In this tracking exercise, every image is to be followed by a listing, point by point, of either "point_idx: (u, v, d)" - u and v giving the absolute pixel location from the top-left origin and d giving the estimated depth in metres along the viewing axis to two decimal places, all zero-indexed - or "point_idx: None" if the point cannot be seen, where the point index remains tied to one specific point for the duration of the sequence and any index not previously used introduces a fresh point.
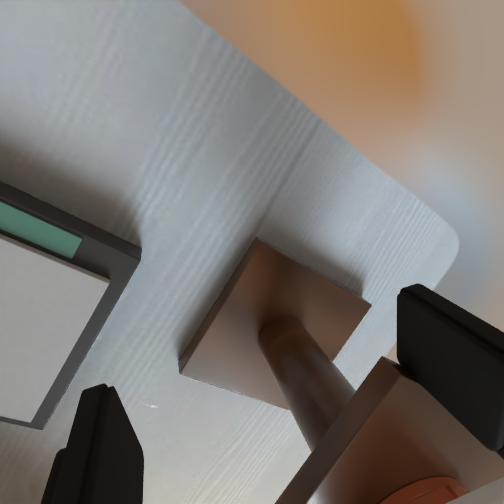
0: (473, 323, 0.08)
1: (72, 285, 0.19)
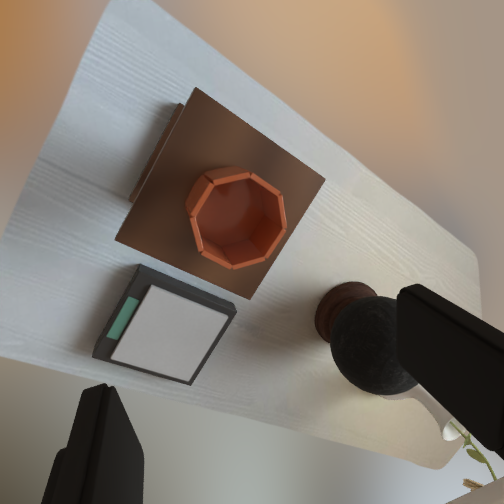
0: (472, 323, 0.08)
1: (152, 301, 0.40)
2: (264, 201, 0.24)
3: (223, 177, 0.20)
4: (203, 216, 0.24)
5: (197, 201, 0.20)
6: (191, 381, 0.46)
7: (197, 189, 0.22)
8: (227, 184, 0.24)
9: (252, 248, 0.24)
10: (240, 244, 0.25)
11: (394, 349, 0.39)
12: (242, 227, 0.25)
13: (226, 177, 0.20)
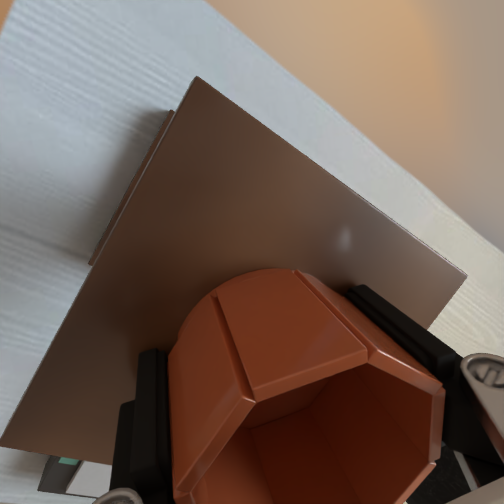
0: (402, 321, 0.09)
1: None
2: None
3: (285, 370, 0.06)
4: None
5: (199, 444, 0.06)
6: None
7: (199, 359, 0.08)
8: None
9: (328, 464, 0.10)
10: (294, 432, 0.11)
11: None
12: (297, 388, 0.12)
13: (296, 373, 0.06)
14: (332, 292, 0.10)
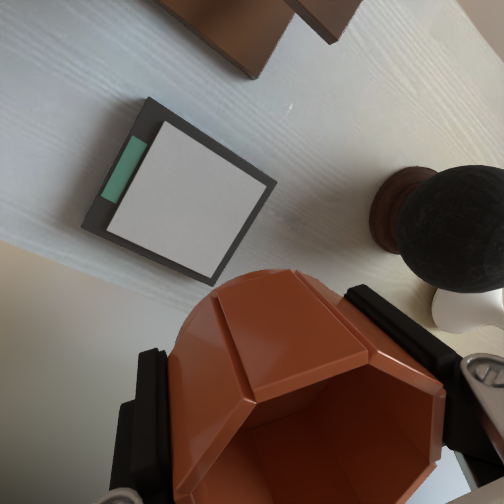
0: (402, 321, 0.09)
1: (165, 145, 0.28)
2: None
3: (286, 371, 0.06)
4: None
5: (199, 446, 0.06)
6: (213, 280, 0.35)
7: (199, 360, 0.08)
8: None
9: (328, 465, 0.10)
10: (294, 432, 0.11)
11: None
12: (297, 389, 0.12)
13: (297, 374, 0.06)
14: (332, 293, 0.10)
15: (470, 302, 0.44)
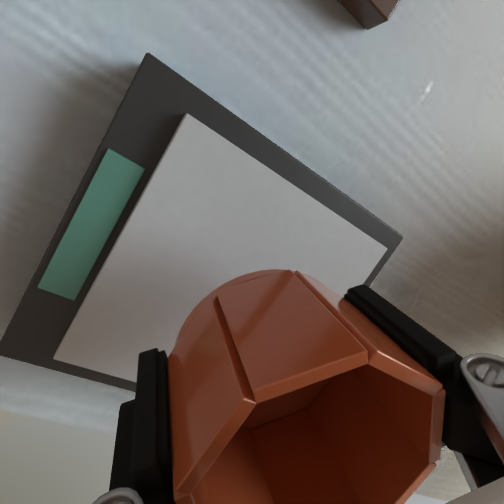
0: (401, 321, 0.09)
1: (186, 172, 0.12)
2: None
3: (285, 371, 0.06)
4: None
5: (199, 445, 0.06)
6: None
7: (199, 360, 0.08)
8: None
9: (328, 465, 0.10)
10: (294, 432, 0.11)
11: None
12: (297, 388, 0.12)
13: (296, 374, 0.06)
14: (332, 293, 0.10)
15: None
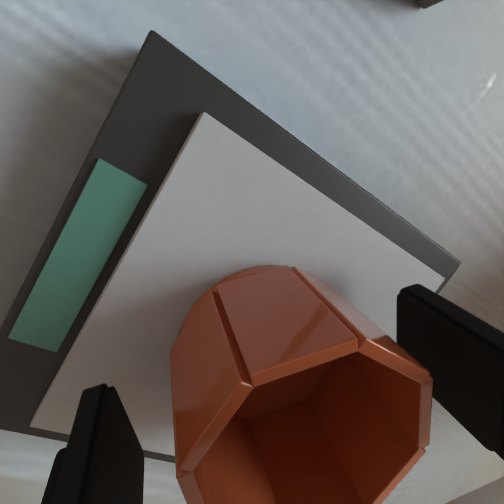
0: (472, 323, 0.08)
1: (202, 189, 0.09)
2: None
3: (281, 357, 0.06)
4: None
5: (200, 427, 0.07)
6: None
7: (200, 350, 0.08)
8: None
9: (323, 453, 0.10)
10: (291, 423, 0.12)
11: None
12: (294, 381, 0.12)
13: (290, 360, 0.06)
14: (328, 288, 0.10)
15: None
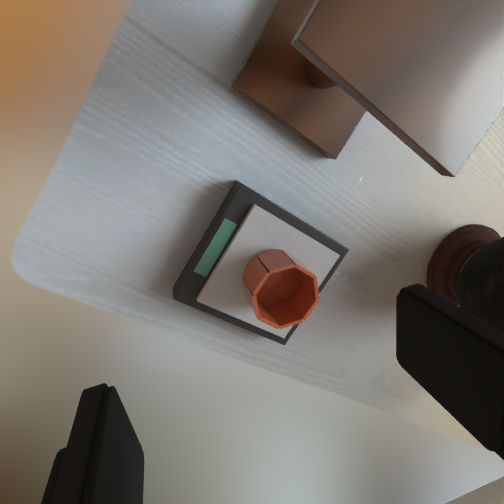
0: (472, 323, 0.08)
1: (253, 225, 0.31)
2: (300, 274, 0.33)
3: (276, 267, 0.28)
4: None
5: (257, 284, 0.28)
6: (285, 339, 0.37)
7: (254, 271, 0.30)
8: None
9: (291, 310, 0.32)
10: (281, 305, 0.33)
11: None
12: (283, 291, 0.34)
13: (278, 268, 0.28)
14: (292, 256, 0.32)
15: None
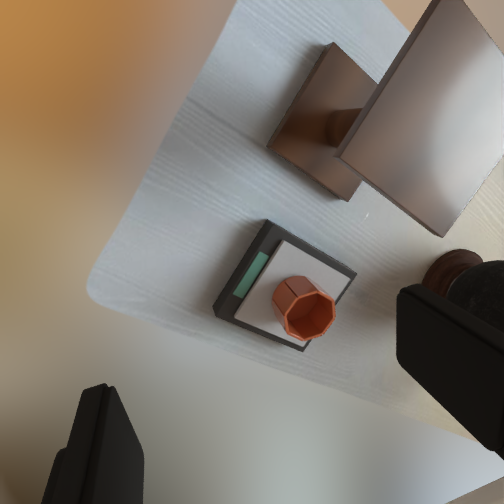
0: (472, 323, 0.08)
1: (282, 257, 0.38)
2: (319, 295, 0.40)
3: (303, 293, 0.35)
4: None
5: (288, 306, 0.35)
6: (304, 347, 0.44)
7: (284, 295, 0.37)
8: None
9: (312, 325, 0.39)
10: (303, 320, 0.41)
11: None
12: (304, 309, 0.41)
13: (304, 294, 0.35)
14: (313, 281, 0.39)
15: None
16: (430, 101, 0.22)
